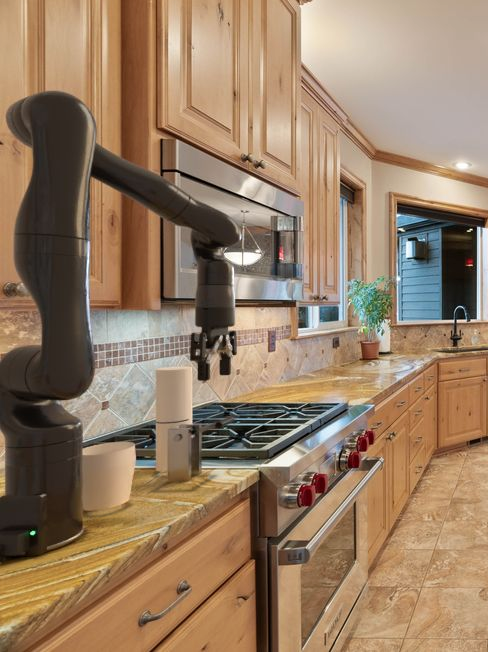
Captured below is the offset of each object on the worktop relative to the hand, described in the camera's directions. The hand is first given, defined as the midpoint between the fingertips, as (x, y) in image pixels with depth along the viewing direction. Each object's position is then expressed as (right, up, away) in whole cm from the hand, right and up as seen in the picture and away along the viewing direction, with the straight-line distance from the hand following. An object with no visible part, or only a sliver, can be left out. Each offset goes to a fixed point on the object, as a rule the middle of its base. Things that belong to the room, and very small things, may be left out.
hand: (214, 377), depth 104 cm
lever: (-3, -13, +1) cm, 13 cm away
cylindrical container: (-15, -24, +8) cm, 29 cm away
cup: (-13, -24, -13) cm, 30 cm away
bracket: (-7, -24, +1) cm, 25 cm away
